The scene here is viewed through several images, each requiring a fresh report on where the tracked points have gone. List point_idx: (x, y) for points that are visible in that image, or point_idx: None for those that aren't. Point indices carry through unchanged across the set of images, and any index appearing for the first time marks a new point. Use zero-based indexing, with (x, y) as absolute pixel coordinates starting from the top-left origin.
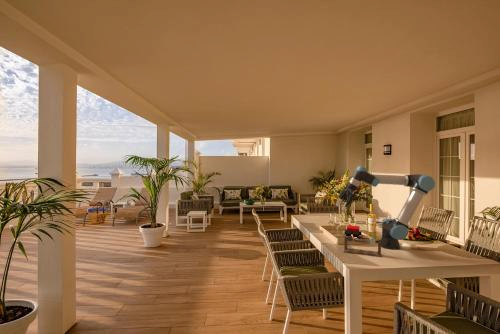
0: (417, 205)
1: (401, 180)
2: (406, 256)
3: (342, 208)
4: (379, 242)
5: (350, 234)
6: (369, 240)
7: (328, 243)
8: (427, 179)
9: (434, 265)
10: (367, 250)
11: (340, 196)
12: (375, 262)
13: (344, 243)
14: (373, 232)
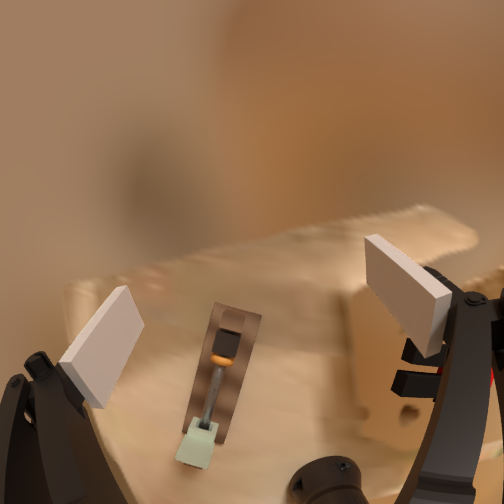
0: None
1: None
2: (214, 496)
3: (111, 295)
4: None
5: (410, 362)
6: (199, 425)
7: (343, 251)
8: None
9: None
10: (233, 403)
11: (476, 323)
12: (122, 388)
13: (226, 309)
14: (175, 458)
